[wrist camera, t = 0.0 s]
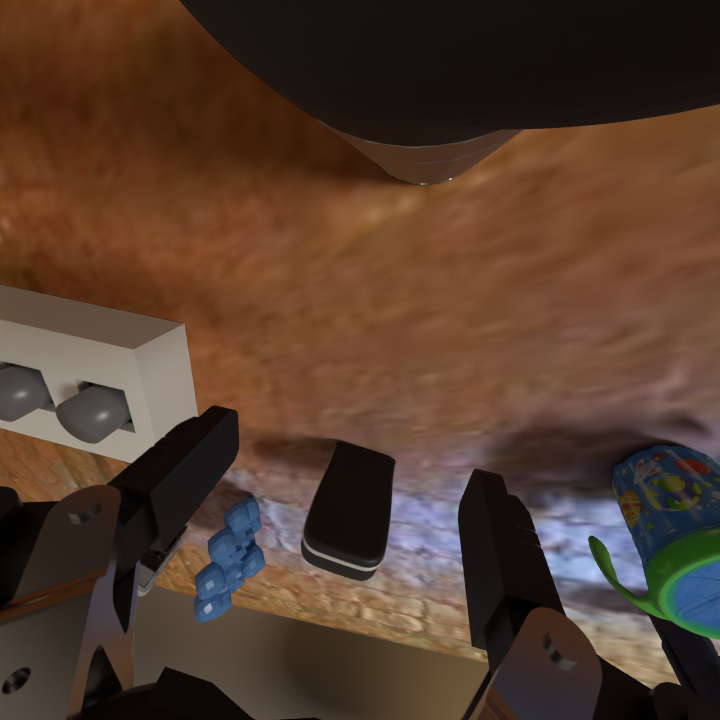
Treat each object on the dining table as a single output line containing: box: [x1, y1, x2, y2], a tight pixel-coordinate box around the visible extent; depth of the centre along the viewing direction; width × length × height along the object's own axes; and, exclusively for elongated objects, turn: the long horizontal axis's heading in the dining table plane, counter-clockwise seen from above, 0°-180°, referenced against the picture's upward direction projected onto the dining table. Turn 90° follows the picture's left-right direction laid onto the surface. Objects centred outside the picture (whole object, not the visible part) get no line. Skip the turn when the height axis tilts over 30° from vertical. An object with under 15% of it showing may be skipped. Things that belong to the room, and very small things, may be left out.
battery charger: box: [301, 442, 396, 581], centre depth 29 cm, size 7×4×11 cm, turn 77°
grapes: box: [194, 497, 265, 623], centre depth 37 cm, size 12×7×12 cm, turn 173°
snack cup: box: [588, 445, 720, 640], centre depth 23 cm, size 16×10×10 cm
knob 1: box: [0, 364, 53, 422], centre depth 30 cm, size 4×4×5 cm
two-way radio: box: [648, 613, 720, 714], centre depth 29 cm, size 6×4×15 cm
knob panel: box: [0, 285, 198, 463], centre depth 32 cm, size 14×26×6 cm, turn 82°
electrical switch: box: [137, 525, 188, 596], centre depth 43 cm, size 9×5×9 cm, turn 53°
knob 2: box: [56, 384, 132, 444], centre depth 29 cm, size 4×4×5 cm
